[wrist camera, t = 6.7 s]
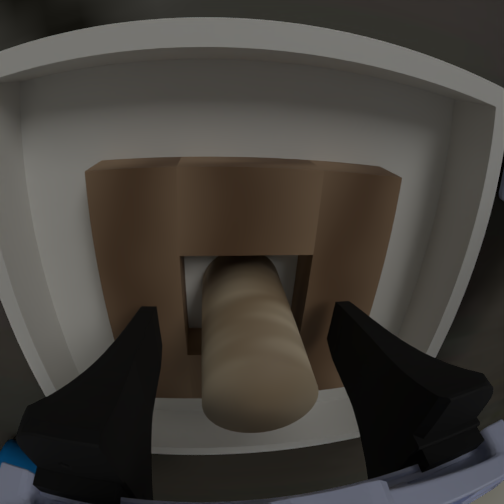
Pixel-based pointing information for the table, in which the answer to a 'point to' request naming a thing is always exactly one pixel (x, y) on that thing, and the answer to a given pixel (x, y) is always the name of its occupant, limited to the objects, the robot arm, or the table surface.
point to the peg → (251, 349)
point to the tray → (235, 145)
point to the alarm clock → (16, 456)
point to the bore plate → (237, 242)
